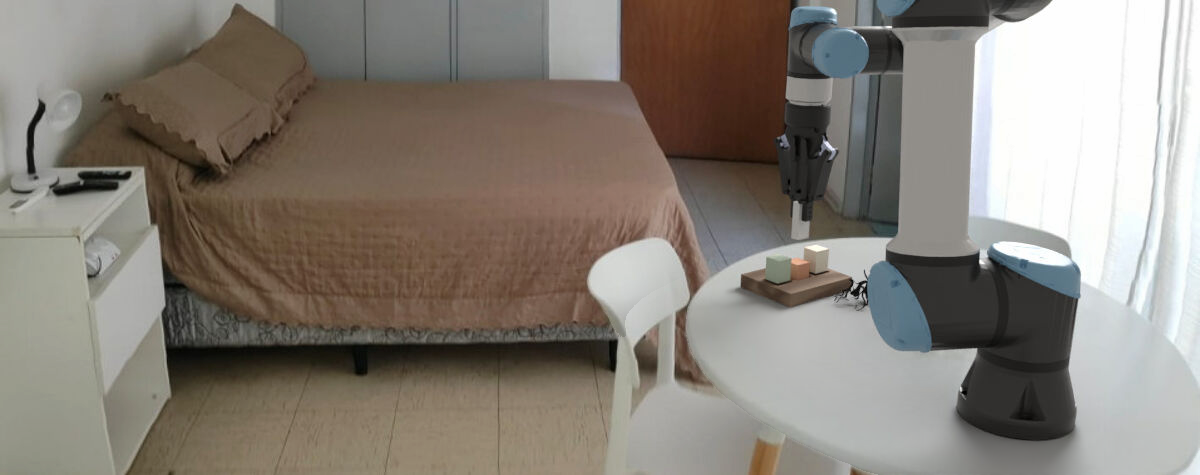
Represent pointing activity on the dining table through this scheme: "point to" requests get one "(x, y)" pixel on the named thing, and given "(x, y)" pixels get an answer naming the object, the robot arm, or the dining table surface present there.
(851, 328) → the dining table surface
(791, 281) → the panel
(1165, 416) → the dining table surface
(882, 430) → the dining table surface
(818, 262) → the button cream
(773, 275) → the button sage
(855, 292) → the creature
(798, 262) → the button terracotta
